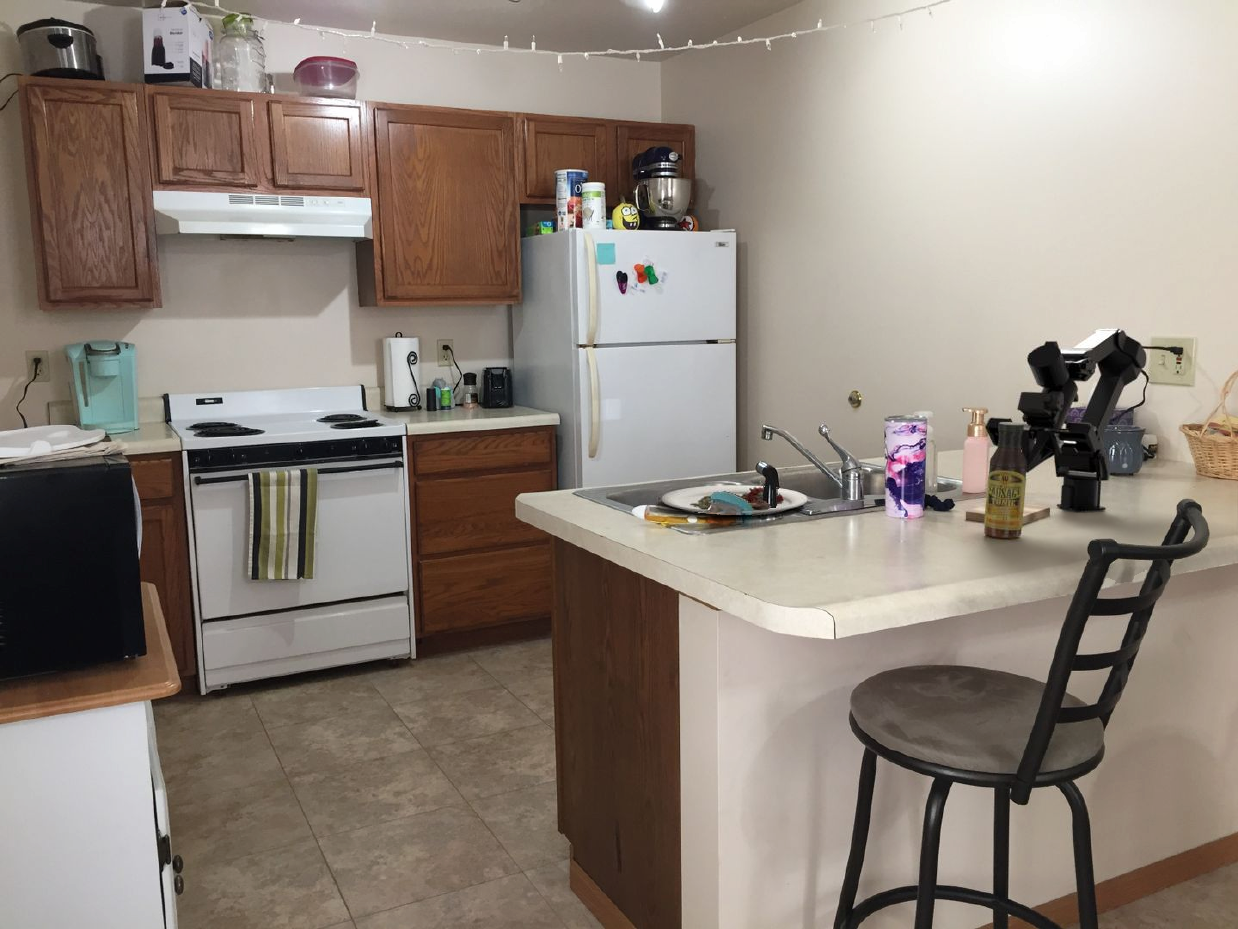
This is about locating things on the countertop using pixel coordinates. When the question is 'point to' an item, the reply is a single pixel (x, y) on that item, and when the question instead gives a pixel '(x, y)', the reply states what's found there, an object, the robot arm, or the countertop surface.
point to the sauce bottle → (1006, 484)
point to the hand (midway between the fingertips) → (1024, 471)
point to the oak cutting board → (1028, 514)
